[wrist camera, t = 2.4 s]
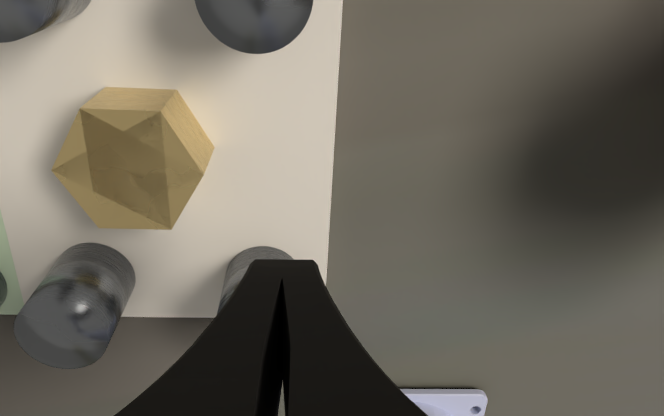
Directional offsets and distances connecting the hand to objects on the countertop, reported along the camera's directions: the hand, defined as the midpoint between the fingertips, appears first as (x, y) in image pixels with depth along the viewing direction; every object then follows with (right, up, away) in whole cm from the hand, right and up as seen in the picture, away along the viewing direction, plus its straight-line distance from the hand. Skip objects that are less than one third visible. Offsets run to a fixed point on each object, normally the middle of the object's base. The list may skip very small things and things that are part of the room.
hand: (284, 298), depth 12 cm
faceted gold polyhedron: (-5, +4, +7) cm, 10 cm away
